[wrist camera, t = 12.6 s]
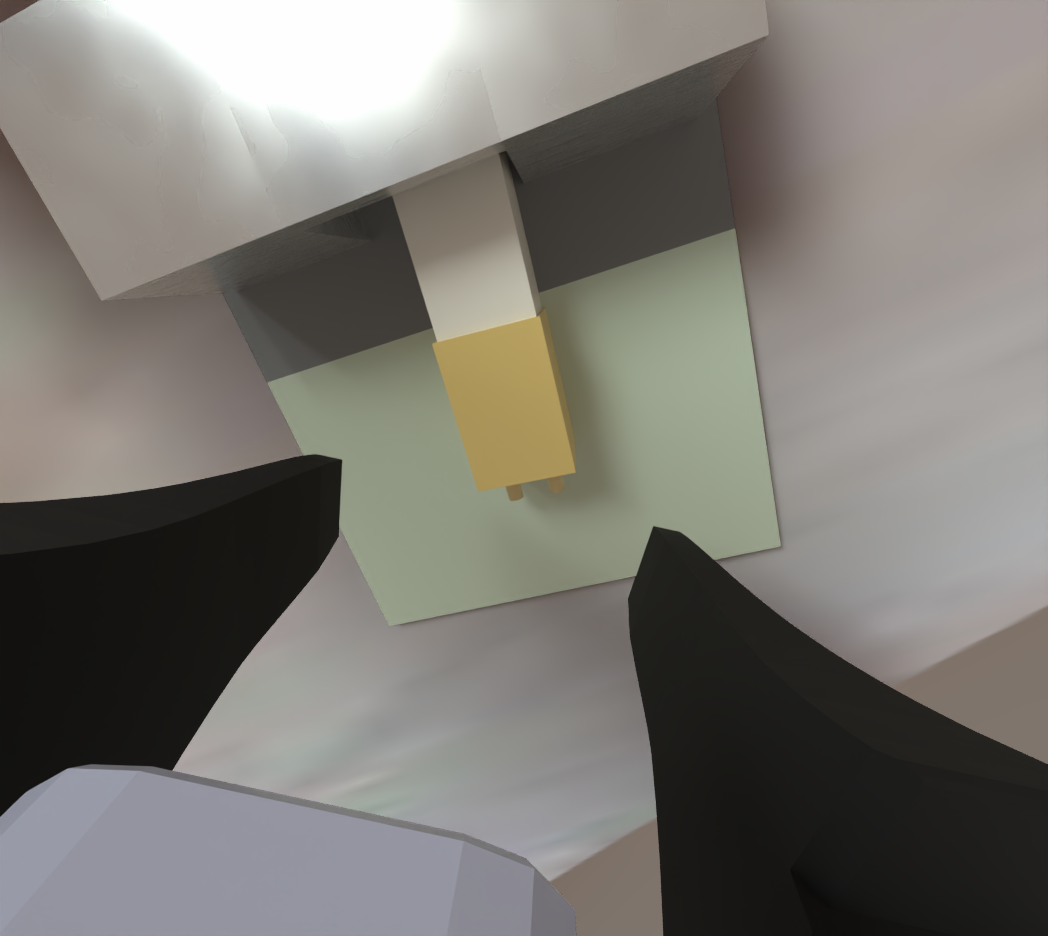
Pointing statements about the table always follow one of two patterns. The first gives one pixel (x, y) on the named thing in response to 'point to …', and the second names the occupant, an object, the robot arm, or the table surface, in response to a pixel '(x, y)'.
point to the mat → (587, 376)
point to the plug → (489, 326)
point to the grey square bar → (324, 114)
